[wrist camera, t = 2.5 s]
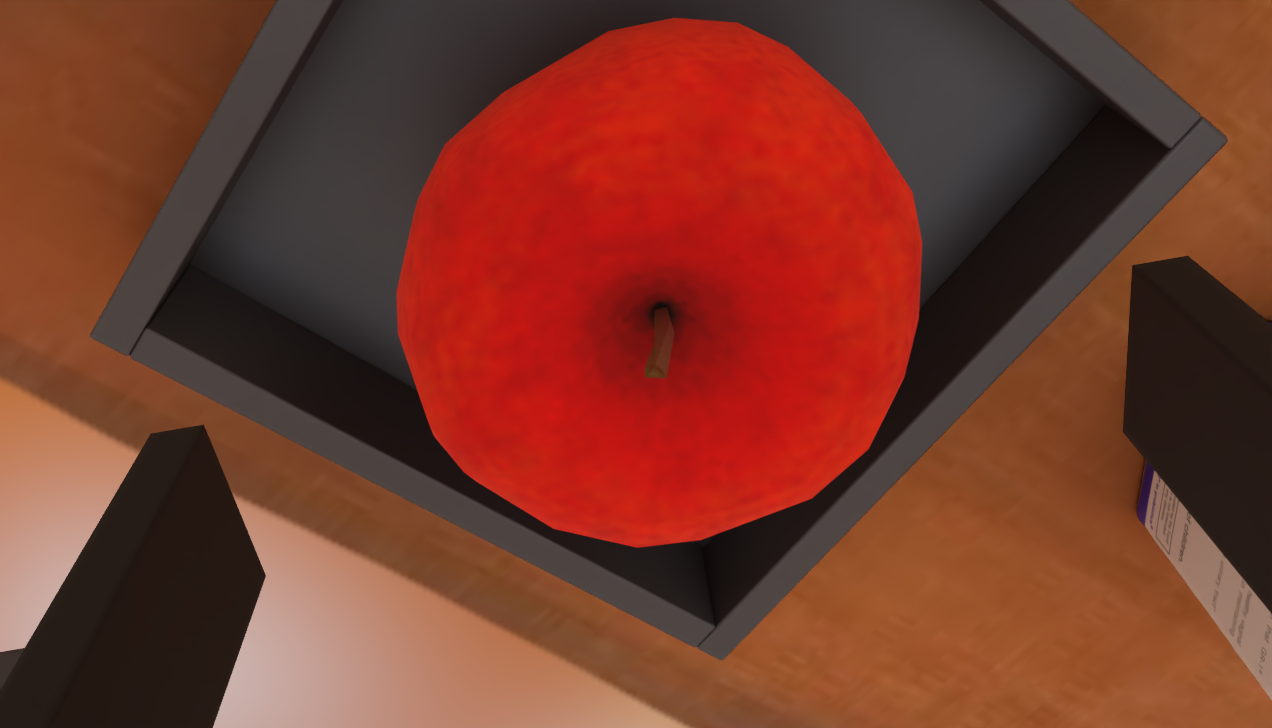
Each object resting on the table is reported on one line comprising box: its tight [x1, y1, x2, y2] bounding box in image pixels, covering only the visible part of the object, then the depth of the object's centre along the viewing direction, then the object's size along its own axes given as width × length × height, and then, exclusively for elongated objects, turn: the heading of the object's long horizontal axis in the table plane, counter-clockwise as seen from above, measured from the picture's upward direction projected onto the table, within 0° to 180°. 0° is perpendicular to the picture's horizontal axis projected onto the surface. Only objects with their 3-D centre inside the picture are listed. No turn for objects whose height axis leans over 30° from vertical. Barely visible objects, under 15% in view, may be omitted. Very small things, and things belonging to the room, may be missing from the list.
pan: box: [90, 0, 1228, 660], centre depth 23 cm, size 16×16×4 cm
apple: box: [396, 18, 922, 548], centre depth 21 cm, size 9×9×8 cm
